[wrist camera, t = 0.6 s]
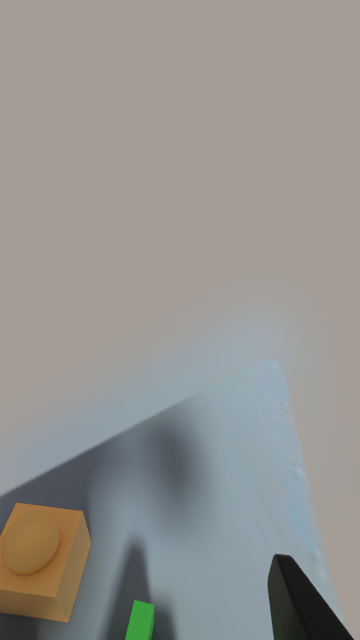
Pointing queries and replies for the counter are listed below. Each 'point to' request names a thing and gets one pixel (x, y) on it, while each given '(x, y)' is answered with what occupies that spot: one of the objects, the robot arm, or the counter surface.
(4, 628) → the counter surface
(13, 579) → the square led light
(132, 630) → the pipe clamp
